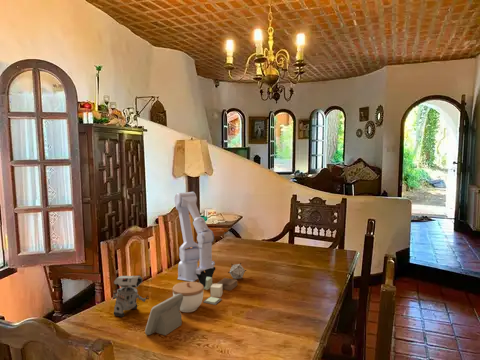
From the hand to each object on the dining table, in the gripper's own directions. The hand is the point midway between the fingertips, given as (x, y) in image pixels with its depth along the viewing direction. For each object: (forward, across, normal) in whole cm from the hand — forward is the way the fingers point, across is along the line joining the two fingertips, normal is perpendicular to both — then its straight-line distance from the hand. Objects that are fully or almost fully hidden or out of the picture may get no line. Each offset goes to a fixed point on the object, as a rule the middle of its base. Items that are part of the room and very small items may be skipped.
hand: (205, 284), depth 166 cm
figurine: (+2, -36, +14) cm, 39 cm away
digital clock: (+2, -40, -6) cm, 40 cm away
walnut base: (+2, +5, -9) cm, 10 cm away
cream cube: (+2, -6, -9) cm, 11 cm away
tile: (+1, -12, -10) cm, 16 cm away
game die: (+2, +16, -9) cm, 18 cm away
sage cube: (+2, 0, 0) cm, 2 cm away
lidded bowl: (+2, -23, -5) cm, 24 cm away
